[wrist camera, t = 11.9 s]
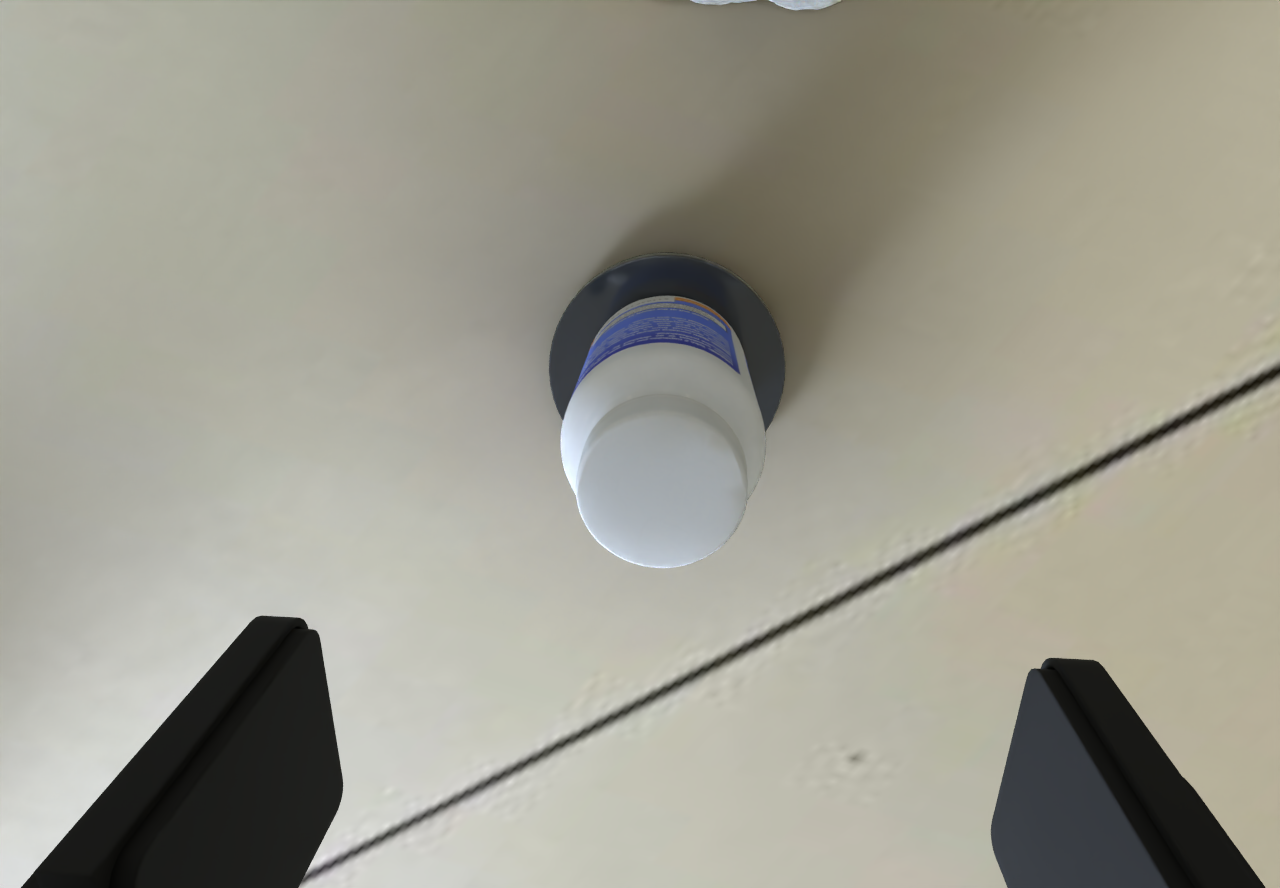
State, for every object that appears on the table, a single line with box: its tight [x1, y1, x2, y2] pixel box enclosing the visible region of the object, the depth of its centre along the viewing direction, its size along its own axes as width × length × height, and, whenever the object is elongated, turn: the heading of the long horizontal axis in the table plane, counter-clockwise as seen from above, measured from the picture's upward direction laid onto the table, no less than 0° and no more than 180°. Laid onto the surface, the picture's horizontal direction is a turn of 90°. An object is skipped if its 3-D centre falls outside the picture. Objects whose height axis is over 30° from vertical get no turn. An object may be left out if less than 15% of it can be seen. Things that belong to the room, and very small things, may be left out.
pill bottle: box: [561, 296, 766, 568], centre depth 23 cm, size 5×5×10 cm
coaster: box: [549, 252, 785, 432], centre depth 28 cm, size 8×8×1 cm
